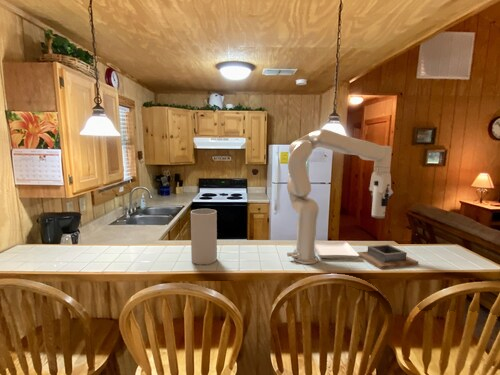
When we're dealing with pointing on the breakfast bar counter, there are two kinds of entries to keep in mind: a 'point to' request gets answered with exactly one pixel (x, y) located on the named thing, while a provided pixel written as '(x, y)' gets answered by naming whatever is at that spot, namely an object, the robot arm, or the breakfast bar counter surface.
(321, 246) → the salad plate
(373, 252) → the metal collar
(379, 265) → the walnut board
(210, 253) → the cylinder vase
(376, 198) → the travel mug
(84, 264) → the breakfast bar counter surface
